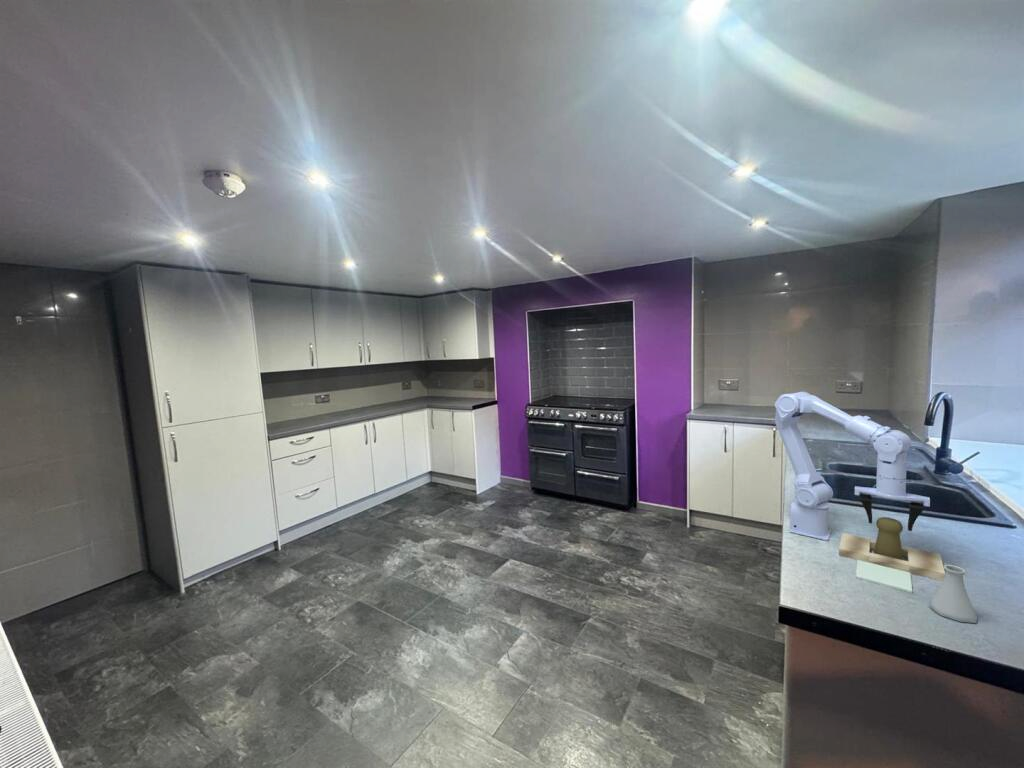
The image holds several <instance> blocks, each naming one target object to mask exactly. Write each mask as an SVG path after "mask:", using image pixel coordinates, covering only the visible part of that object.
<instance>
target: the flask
mask: <svg viewBox="0 0 1024 768" xmlns="http://www.w3.org/2000/svg"><path fill="white" fill-rule="evenodd" d="M943 567H944V571H945V578H944V581H942V582H941V585H940V586H939V587H938V589H937V591H936V593H935V594H933V596H932V598H931V600H930V601H929V604H928V607H929V608H930V609H931V610H932V611H934V612H935V613H937V614H938V615H939V616H941V617H944V618H948V619H950V620H955V621H956V622H959V623H960V622H961V623H972V624H977V623H978V616H977V613H976V611H975V609H974V607H973V604H972V602H971V600H970V597H969V594H968V593H967V590H966V588H965V582H964V576H965V575H966V570H965V569H964V568H963V567H961V566H956V565H953V564H943Z"/></svg>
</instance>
